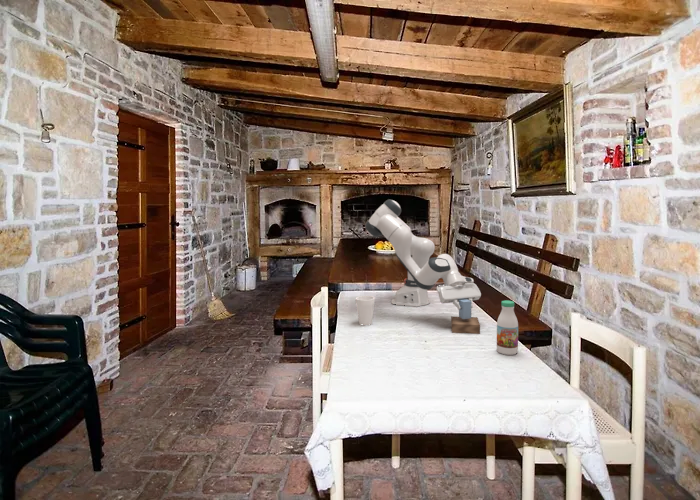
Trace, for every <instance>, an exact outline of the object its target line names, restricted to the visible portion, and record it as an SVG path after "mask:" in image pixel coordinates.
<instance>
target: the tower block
mask: <svg viewBox="0 0 700 500" xmlns="http://www.w3.org/2000/svg"><path fill="white" fill-rule="evenodd" d="M458 304H459V305H462V309H461V310H458V317H460V318H462V319H469V318H471V317H472V308H471V301H470V300H467V299H464V300H459V302H458Z"/></svg>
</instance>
